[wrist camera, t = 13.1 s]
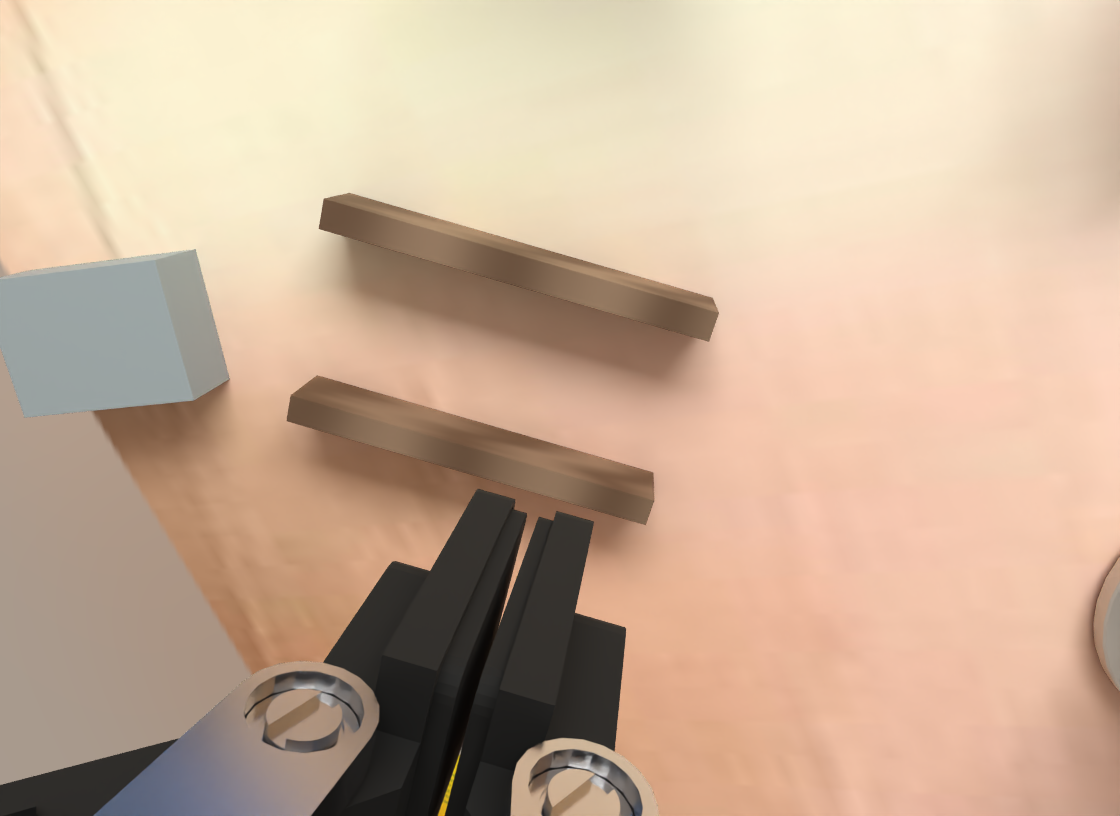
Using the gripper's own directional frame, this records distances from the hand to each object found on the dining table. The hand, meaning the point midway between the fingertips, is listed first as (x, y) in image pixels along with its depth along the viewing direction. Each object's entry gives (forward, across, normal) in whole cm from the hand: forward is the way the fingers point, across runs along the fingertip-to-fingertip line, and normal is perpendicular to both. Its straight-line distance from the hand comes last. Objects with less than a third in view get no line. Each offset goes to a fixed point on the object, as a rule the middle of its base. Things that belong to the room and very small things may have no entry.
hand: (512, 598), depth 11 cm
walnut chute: (+25, +4, +4) cm, 26 cm away
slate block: (+25, +21, +7) cm, 33 cm away
